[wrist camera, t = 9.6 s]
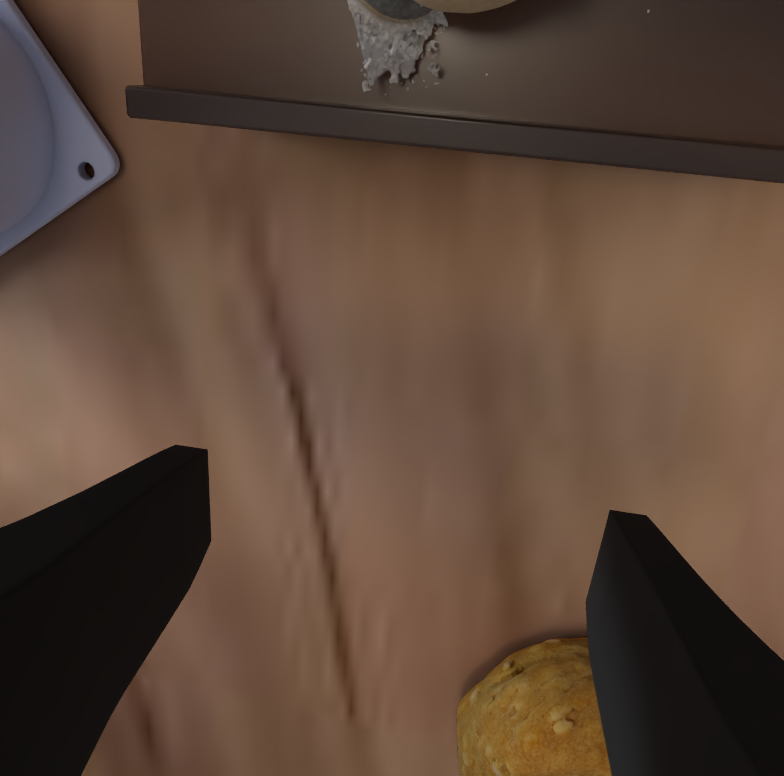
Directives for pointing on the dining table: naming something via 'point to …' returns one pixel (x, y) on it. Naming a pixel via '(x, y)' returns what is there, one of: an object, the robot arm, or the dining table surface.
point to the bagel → (534, 716)
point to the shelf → (489, 79)
